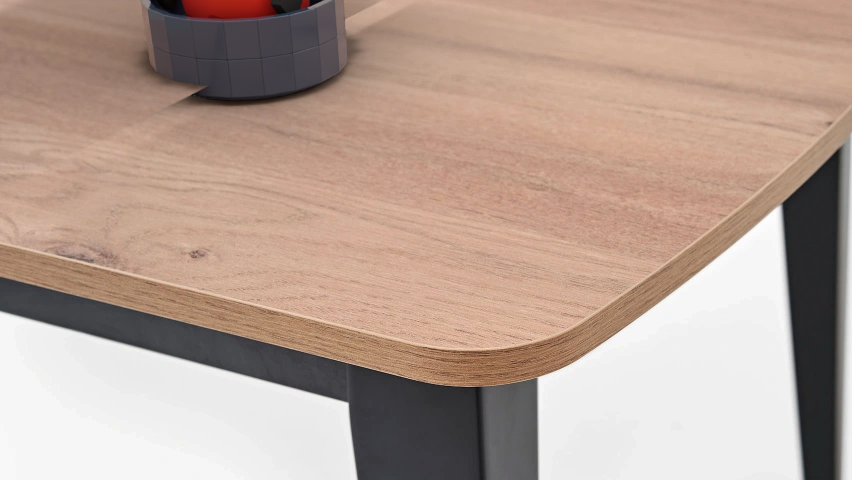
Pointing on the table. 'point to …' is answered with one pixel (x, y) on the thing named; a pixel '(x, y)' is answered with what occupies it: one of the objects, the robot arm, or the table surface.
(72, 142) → the table surface
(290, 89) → the faceted grey ring
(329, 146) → the table surface
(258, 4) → the tomato
